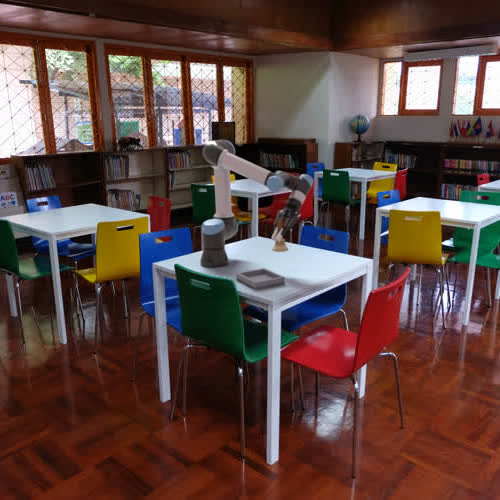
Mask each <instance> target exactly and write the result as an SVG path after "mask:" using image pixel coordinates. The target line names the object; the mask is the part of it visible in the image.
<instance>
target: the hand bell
mask: <svg viewBox="0 0 500 500" xmlns="http://www.w3.org/2000/svg"><path fill="white" fill-rule="evenodd" d="M283 224H284V223H283ZM283 224H282V220H281V218H278V222H277V227H278V234H279V232H280V230H281V228H283V226H284V225H283ZM289 250H290V249H289V248H288V247H287V245H286V239H285V238H283V237H282V238H281V240H280V242H278V241H277V239H276V240H275V241H274V245H273V247H272V248H271V251H273V252H277V253H285V252H287V251H289Z"/></svg>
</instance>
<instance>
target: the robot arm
mask: <svg viewBox="0 0 500 500" xmlns="http://www.w3.org/2000/svg"><path fill="white" fill-rule="evenodd" d="M235 154H236V149H235V146H234V145H233V143H232V142H231V141H229V140H226V139H217V140H210V141H208V142H207V143H205V144H204V147H203V148H202V156H203V158H204V159H205V160H206V162H208V163H209V164H210V167H211V168H213V174H214V175H213V178H214V180H213V181H214V197H215V198H214V199H215V214H214V215H213V218H211V219H207V220H205V221H204V222H202V228H201V233H202V252H201V256H200V265H201V266H202V267H206V268H221V267H225V266H227V265H229V257H228V254H227V251H226V242H225V241H226V240H229V239H231V238H233V237H234V236H235V235H236V234H237V233H238V230H239V224H238V221H237V220H236V219H235V214H234V213H233V212H232V195H231V194H232V191H231V190H232V188H231V171H233V172H234V173H236V174H238V175H241V176H243V177H245V178H247V179H250V180H252V181H253V182H256V183H258V184H261V185H262V186H265V188H267V189H268V190H269V191H270V192H274V193H277V192H279V191H282V190H284V189H286V190H290V191H291V192H290V195H289V197H288V199H287V200H286V202H285V206H284V208H283V209H281V210H280V209H278V210H277V215H276V217H275V219H274V222H273V224H272V225H273V226H274V230H273V233H272V236H271V240H272V241H273V242H275V241H276V239H277V241H278V242H280V240H281V238H283V237H284V236H285V235H286V232H287V231H292V229H293V228H294V226H295V224H296V223H297V221H298V219H300V218H301V217H302V215H301V213H300V212H299V211H300V210H301V208H302V205H303V204H304V202H305V200H306V198H307V196H308V194H309V192H310V191H311V189H312V187H313V184H314V179H313V177H312V176H311V175H309V174H307V173H305V174H304V173H302V174H301V175H300V176H296V175H294V174H290V173H288V172H285V171H281V170H277V171H275V172H272V171H270V170H268V169H266V168H263V167H261V166H259V165H257V164H254V163H253V162H252V161H251V162H250V161H248V160H246V159H244V158H242V157H239V156H237V155H235ZM278 218H281V220H282V224H284V225H282V228H281V230H280V232H279V234H278V227H277V222H278Z"/></svg>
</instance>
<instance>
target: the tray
mask: <svg viewBox="0 0 500 500" xmlns="http://www.w3.org/2000/svg"><path fill="white" fill-rule="evenodd" d="M235 279H236V281H237V282H239V283H241V284H243V285H244V286H246V287H248V288H250V289H252V290H253V291H258V290H265V289H267V288H273V287H279V286H284V285H285V283H286V277H285V276H284V275H281V274H278V273H276V272H274V271H272V270H270V269H267V268H265V267H263V268H258V269H252V270H247V271H240V272H236V273H235Z"/></svg>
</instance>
